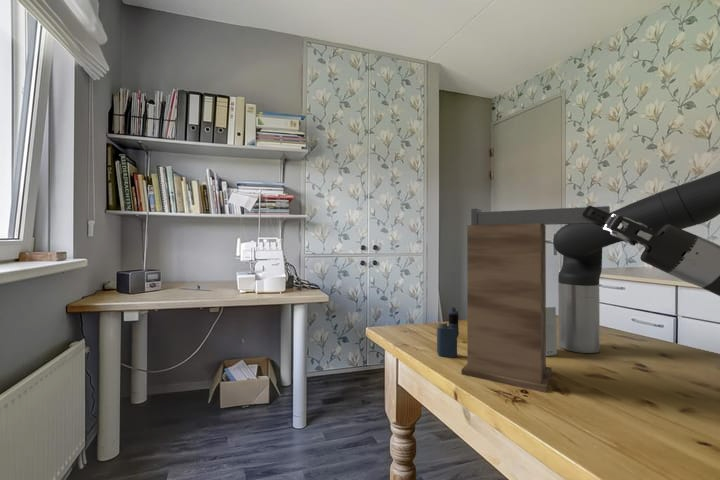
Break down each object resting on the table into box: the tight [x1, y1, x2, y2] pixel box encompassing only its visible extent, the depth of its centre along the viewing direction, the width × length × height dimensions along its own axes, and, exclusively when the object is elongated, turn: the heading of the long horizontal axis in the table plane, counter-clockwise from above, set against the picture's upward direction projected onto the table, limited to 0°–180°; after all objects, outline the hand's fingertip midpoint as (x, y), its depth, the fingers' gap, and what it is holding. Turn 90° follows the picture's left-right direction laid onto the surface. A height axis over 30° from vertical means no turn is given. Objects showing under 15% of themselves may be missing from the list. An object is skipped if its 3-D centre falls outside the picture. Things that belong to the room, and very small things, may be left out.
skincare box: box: [546, 305, 558, 357], centre depth 88 cm, size 6×4×12 cm
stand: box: [461, 223, 553, 393], centre depth 74 cm, size 12×16×32 cm
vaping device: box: [436, 307, 460, 358], centre depth 85 cm, size 3×5×12 cm, turn 79°
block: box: [470, 205, 611, 226], centre depth 71 cm, size 4×25×4 cm, turn 56°
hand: (585, 211), depth 66 cm, fingers open, 8 cm apart
